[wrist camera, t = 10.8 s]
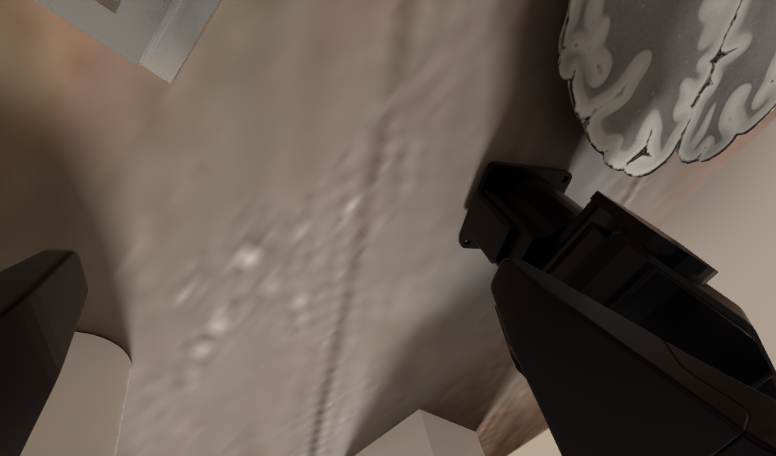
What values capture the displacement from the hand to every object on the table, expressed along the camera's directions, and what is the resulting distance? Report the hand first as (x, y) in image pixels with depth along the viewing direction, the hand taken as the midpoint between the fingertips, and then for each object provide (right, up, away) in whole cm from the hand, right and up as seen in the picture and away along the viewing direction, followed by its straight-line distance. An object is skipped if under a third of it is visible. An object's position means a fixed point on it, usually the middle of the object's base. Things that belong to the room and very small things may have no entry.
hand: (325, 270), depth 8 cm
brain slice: (+18, +13, +13) cm, 26 cm away
